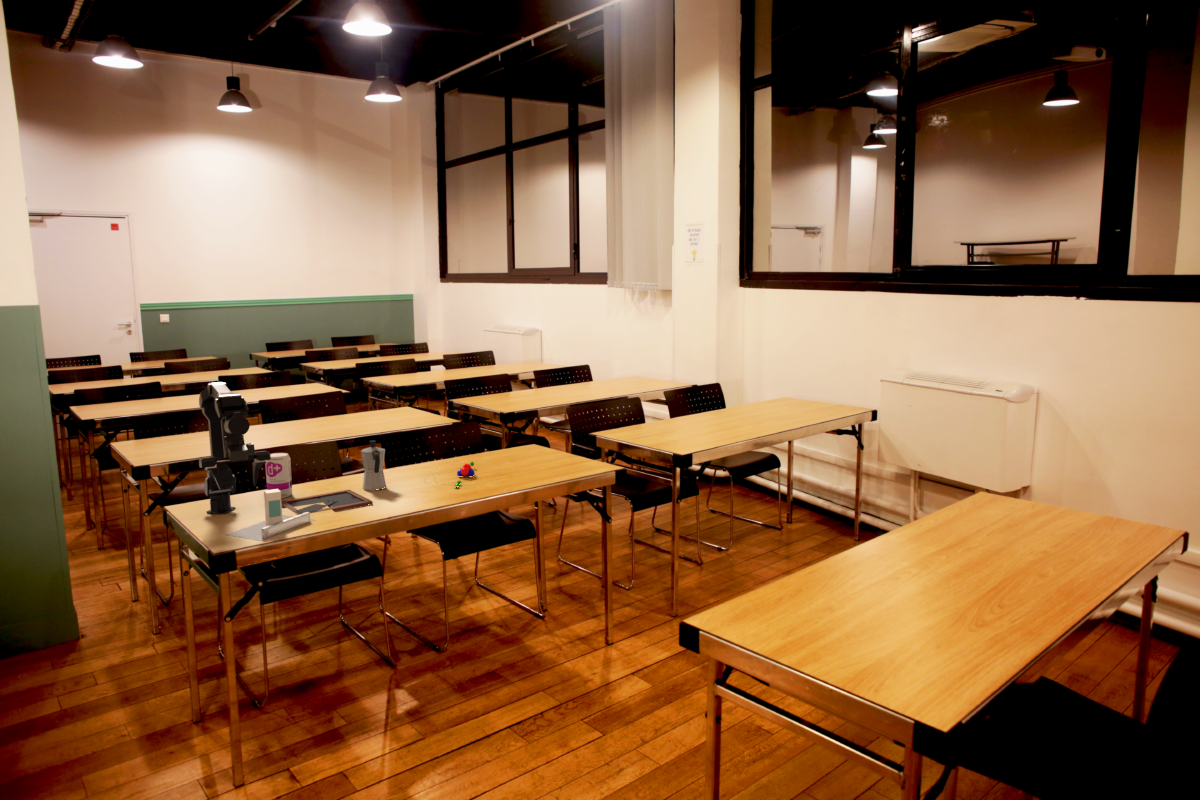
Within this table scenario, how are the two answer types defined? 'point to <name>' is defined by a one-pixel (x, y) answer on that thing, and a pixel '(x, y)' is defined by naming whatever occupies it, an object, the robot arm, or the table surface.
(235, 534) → the shelf board
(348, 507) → the picture frame
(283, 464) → the supplement can
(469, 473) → the atom model
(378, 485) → the coffee maker
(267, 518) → the carton
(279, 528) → the rail
